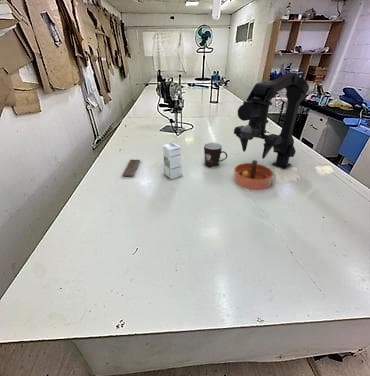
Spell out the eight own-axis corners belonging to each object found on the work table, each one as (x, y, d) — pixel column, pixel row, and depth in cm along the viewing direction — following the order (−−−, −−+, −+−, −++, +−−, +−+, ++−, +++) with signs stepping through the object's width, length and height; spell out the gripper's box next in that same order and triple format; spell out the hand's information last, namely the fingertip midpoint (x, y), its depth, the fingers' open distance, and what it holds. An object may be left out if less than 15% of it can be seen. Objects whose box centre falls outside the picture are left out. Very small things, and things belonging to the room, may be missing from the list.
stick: (251, 178, 103) (254, 159, 99) (255, 180, 101) (258, 161, 98) (248, 180, 101) (251, 161, 98) (252, 181, 100) (255, 162, 96)
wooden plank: (133, 174, 103) (122, 174, 103) (133, 177, 104) (122, 176, 104) (139, 159, 119) (130, 159, 118) (140, 161, 119) (130, 161, 119)
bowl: (246, 169, 112) (247, 160, 110) (277, 182, 101) (279, 171, 99) (226, 180, 102) (227, 170, 100) (258, 195, 91) (260, 184, 89)
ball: (244, 174, 106) (245, 168, 104) (250, 177, 104) (250, 171, 102) (240, 177, 104) (241, 171, 102) (246, 179, 102) (246, 173, 100)
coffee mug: (199, 162, 118) (200, 144, 114) (214, 160, 121) (215, 141, 117) (211, 172, 108) (213, 152, 104) (227, 169, 112) (229, 149, 108)
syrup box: (181, 176, 105) (181, 146, 99) (170, 179, 102) (169, 148, 96) (174, 171, 109) (174, 142, 103) (163, 174, 106) (162, 144, 100)
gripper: (227, 115, 92) (223, 152, 98) (270, 125, 80) (262, 167, 86) (244, 112, 99) (239, 146, 105) (286, 121, 86) (278, 160, 92)
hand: (253, 154), depth 97 cm, fingers open, 9 cm apart
